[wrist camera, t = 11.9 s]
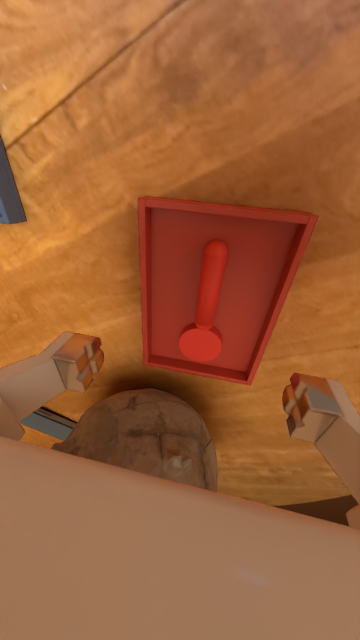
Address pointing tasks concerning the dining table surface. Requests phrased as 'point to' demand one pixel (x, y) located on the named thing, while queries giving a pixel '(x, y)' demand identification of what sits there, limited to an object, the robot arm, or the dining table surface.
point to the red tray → (237, 284)
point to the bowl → (147, 437)
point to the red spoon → (206, 307)
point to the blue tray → (8, 193)
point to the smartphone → (49, 424)
